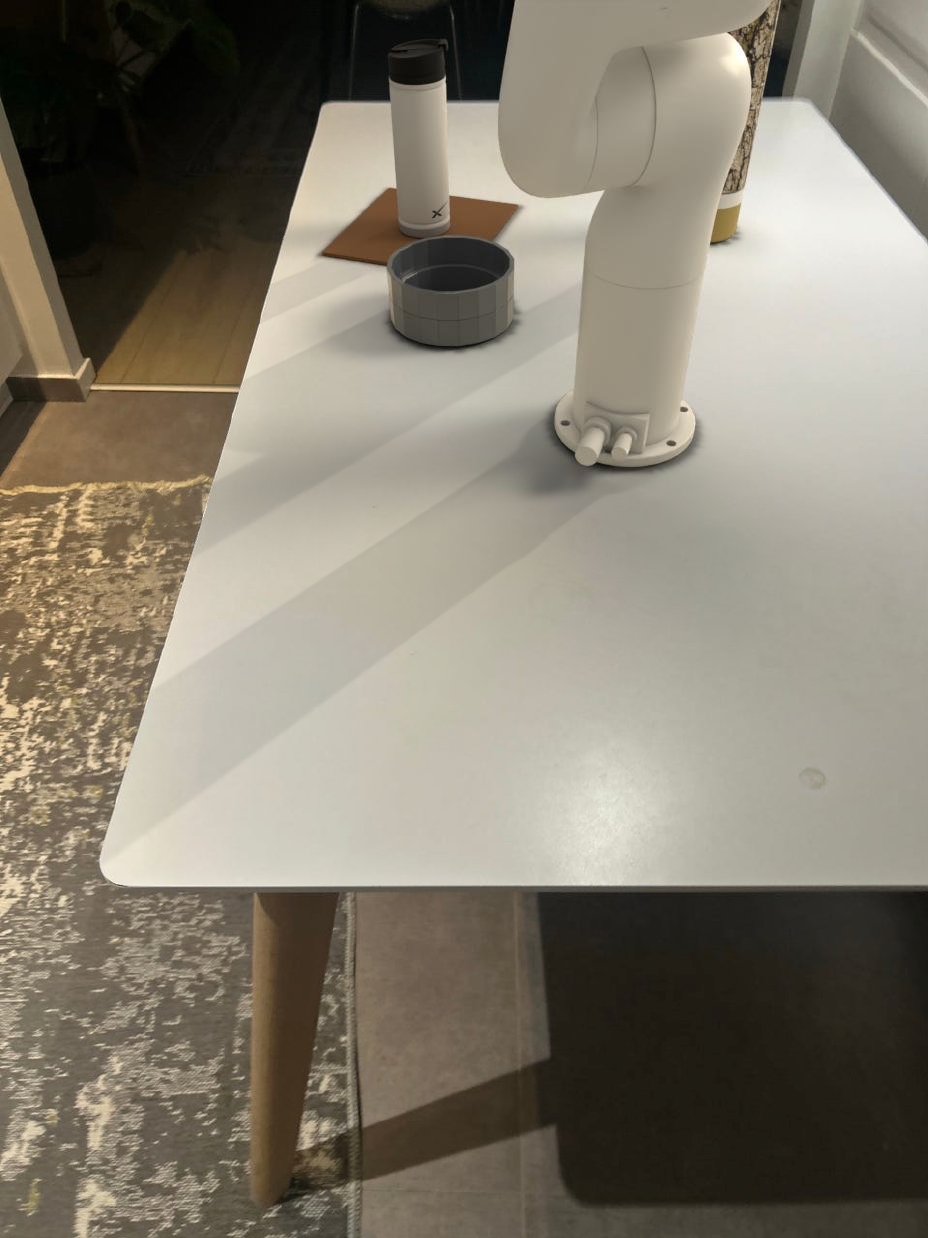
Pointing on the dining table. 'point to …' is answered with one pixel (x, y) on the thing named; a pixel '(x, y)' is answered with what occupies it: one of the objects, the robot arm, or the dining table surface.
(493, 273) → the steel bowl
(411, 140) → the travel mug
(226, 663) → the dining table surface
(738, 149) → the paper tube
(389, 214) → the cork mat
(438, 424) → the dining table surface
